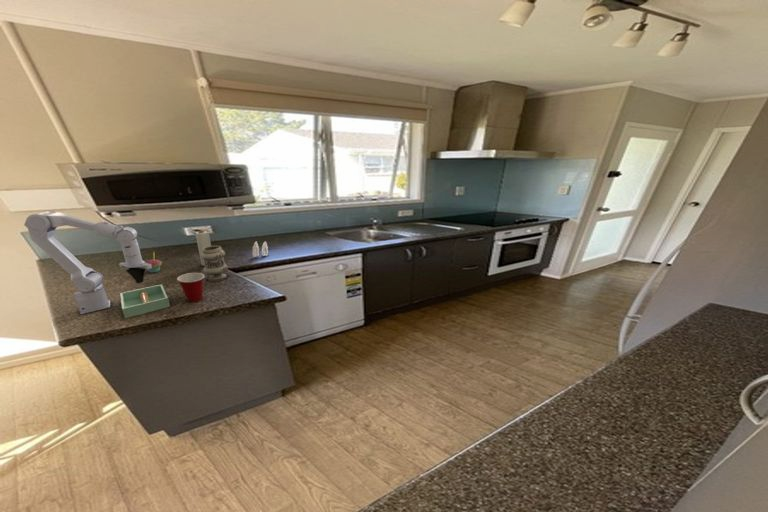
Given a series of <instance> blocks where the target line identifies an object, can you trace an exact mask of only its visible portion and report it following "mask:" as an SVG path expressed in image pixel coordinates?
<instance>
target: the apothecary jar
mask: <svg viewBox="0 0 768 512" xmlns="http://www.w3.org/2000/svg"><path fill="white" fill-rule="evenodd" d="M225 256H226V251H225V250H223V248H222V247H221V246H220V245H211V246H209V247H205V248H203V252H202V253H201V258H202V259H204V262H205V266H203V273H204V274H206V275H208V277H207V281H209V282H218V281H223V280H225V279H227V278H228V274H226V273H225V272H227V270H229V266H228V265H229V264H227V263H225V258H224V257H225Z"/></svg>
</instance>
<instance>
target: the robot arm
mask: <svg viewBox="0 0 768 512" xmlns="http://www.w3.org/2000/svg"><path fill="white" fill-rule="evenodd" d="M23 225H24V227H25V228H27V230H28V234H29V237H30V239H31V241H33V242H34V244H35V245H37V246H38V247H39V248H40V249H41V250H42V251H43V252H44V253H46V254H47V255H48V256H49V257H50V258H51V259H52V260H54V261H55V263H57V264H58V265H59V266H60V267H62V268H63V269H64V271H66V272H67V273H68V274H69V275H70V281H71V283H73V285H74V288H75V289H76V291H77V292H74V299H75V302H76V305H77V309H78V310H79V314H80V315H84V314H89V313H93V312H97V311H102V310H106V309H109V308H111V300H109V299H108V296H107V294H106V293H107V292H106V289H105V288H104V287H105V286H104V285H103V282H104V280H105V278H104V275H103V274H102V273H100V272H98V271H96V270H95V269H93V268H91V267H88V266H86V265H84V264H83V263H82V262H81V261H80V260H79V259H78V258H77V257H76V256H75V255H74V254H72V252H70V250H68V249H67V248H66V247H65V246H64V245H63V244H62V243H61V242H60V241H59V240H58V239H57V238H55V232H56V229H57V228H58V227H65V226H67V227H68V226H69V227H71V228H72V227H74V228H77V229H82V230H83V229H84V230H88V231H92V232H93V233H94V234H95V235H97V236H102V237H105V238H110V239H114V240H116V241H118V242H119V243H120V247H121V250H122V253H123V258H124V261H122V262H119V263H118V266H119V268H128V269H126V272H127V274H129V275H130V276H131V277H132V279H133V280H134V281H135V283H136V284H142V283H144V276H145V273H146V270H148V269H151V268H152V266H151V264H148V263H145V262H146V261H145V260H143V258H142V253H141V249H140V245H139V243H138V239H137V237H138V231H137V230H136V229H135V228H133V227H131V226H124V225H118V224H117V225H116V224H112V223H110V222H109V221H106V220H105V221H99V222H93V221H90V220H87V219H83V218H79V217H76V216H72V215H69V214H66V213H64V212H56V211H54V210H45V211H42V212H39V213H34V214H30V215H28V216H27V217H26V219H25V221H24V224H23Z"/></svg>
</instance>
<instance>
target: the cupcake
mask: <svg viewBox="0 0 768 512" xmlns="http://www.w3.org/2000/svg"><path fill="white" fill-rule="evenodd" d="M155 257H156V255H155V252H152V259H149V260H146V261H145V263H148V264H151V266H152V268H151V269H147V270H148V272H149V273H157V272H159V271H160V270H161V269H160V268H161V265H162V264H163V263H162V260H160V259H156V258H155Z"/></svg>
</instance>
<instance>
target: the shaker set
mask: <svg viewBox="0 0 768 512" xmlns="http://www.w3.org/2000/svg"><path fill="white" fill-rule="evenodd" d="M258 243H259V242H258V241H255V242H254V243H253V246H252V257H253V258H254V259H255V258H259V257H260V246H259V244H258ZM268 255H269V246H268V243H267V241H264V242H263V244H262V246H261V256H263V257H264V256H268Z"/></svg>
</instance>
